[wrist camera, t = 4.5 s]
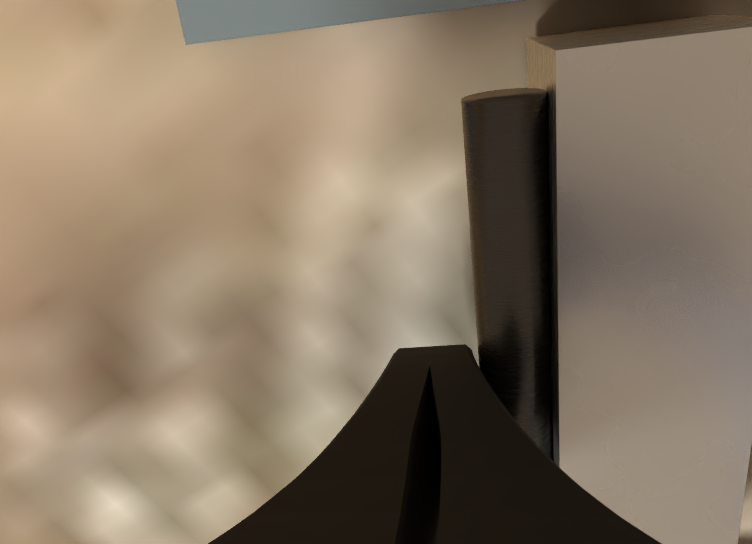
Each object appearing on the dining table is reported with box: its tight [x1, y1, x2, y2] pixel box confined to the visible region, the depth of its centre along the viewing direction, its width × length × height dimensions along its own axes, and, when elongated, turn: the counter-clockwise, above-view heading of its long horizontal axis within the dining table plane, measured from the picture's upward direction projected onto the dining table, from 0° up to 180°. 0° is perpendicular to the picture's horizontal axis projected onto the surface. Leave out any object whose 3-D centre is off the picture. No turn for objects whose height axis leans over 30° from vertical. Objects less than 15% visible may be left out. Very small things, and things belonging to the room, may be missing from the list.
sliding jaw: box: [461, 15, 752, 544], centre depth 11 cm, size 4×12×3 cm, turn 7°
